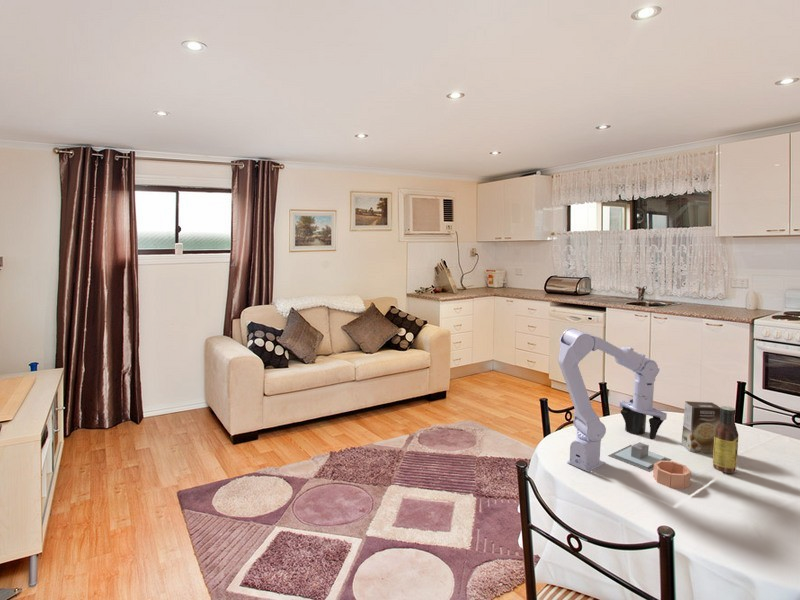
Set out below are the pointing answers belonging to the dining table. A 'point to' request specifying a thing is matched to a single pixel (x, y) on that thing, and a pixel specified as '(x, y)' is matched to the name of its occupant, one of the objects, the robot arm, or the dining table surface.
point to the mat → (633, 463)
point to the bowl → (671, 474)
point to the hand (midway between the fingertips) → (640, 434)
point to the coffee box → (700, 426)
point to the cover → (639, 455)
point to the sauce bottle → (726, 441)
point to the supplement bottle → (638, 423)
